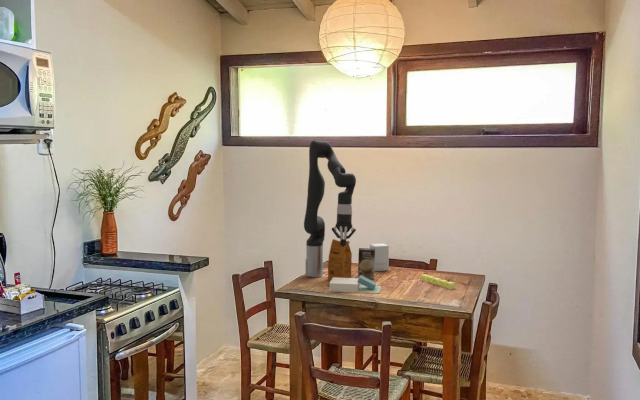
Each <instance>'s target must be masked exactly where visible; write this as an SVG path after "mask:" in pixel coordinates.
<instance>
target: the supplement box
mask: <svg viewBox="0 0 640 400" xmlns="http://www.w3.org/2000/svg"><path fill="white" fill-rule="evenodd" d="M369 248H370V249H375V266H374V272H383V271H384V272H385V271H387V272H388V271H389V270H390V269H389V266H390V265H389V263H390V262H389V259H390V257H389V253H390V247H389V245H388V244H386V243H369Z"/></svg>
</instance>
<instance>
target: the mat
mask: <svg viewBox="0 0 640 400" xmlns="http://www.w3.org/2000/svg"><path fill="white" fill-rule="evenodd" d="M381 290H382V285H376V286H375V288H374V290H372V289H370V288H368V287H366V286H364V285H362V284H360V286H359V289H358V292H357V293H359V294H361V293H362V294H376V295H377V294H378V295H379V294H381Z"/></svg>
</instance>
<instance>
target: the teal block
mask: <svg viewBox="0 0 640 400" xmlns="http://www.w3.org/2000/svg"><path fill="white" fill-rule="evenodd" d="M357 282H358V283H360V285H364V286H366V287H368V288H370V289H372V290H374V288H375V286H377V282H375V281H374V280H372V279H367V278H366V277H364V276H362V275H360V277H359V279H358V281H357Z"/></svg>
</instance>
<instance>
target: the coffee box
mask: <svg viewBox="0 0 640 400" xmlns="http://www.w3.org/2000/svg"><path fill="white" fill-rule="evenodd" d="M357 259H358V260H357V261H358V264H357V278H359V277H360V275H362V276H364V277H366V278H367V279H369V280H375V271H374V266H375V249H370V247H369V248H365V247H364V248H362V247H359V248H358V258H357Z"/></svg>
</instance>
